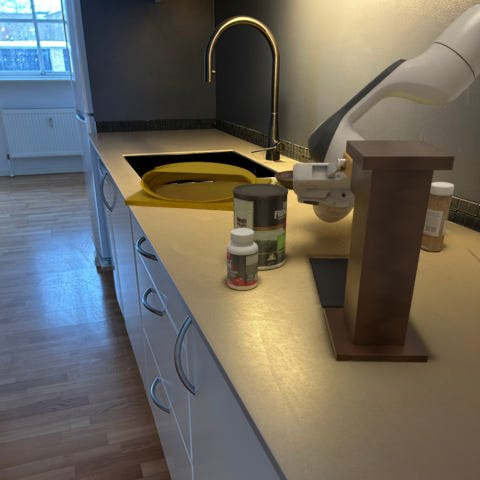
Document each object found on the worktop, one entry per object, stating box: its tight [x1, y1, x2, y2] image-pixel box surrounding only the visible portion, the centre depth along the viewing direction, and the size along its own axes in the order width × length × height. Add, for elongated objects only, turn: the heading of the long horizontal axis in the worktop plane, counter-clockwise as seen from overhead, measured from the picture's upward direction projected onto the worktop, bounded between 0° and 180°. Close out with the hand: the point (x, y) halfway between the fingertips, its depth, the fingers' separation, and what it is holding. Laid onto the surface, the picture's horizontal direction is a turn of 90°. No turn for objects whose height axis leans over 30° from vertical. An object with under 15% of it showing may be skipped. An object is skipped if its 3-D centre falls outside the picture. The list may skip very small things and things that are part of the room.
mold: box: [124, 161, 272, 212], centre depth 149 cm, size 35×35×9 cm
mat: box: [309, 257, 349, 309], centre depth 91 cm, size 12×22×1 cm, turn 178°
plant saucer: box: [274, 169, 293, 189], centre depth 160 cm, size 18×18×3 cm
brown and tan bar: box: [343, 152, 358, 196], centre depth 81 cm, size 5×20×5 cm, turn 178°
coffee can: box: [232, 183, 289, 271], centre depth 97 cm, size 10×10×14 cm
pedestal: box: [323, 139, 456, 363], centre depth 68 cm, size 12×14×26 cm
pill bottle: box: [226, 228, 259, 291], centre depth 88 cm, size 5×5×10 cm
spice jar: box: [421, 181, 455, 252], centre depth 104 cm, size 5×5×14 cm
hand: (354, 162), depth 87 cm, fingers closed on brown and tan bar, 3 cm apart
